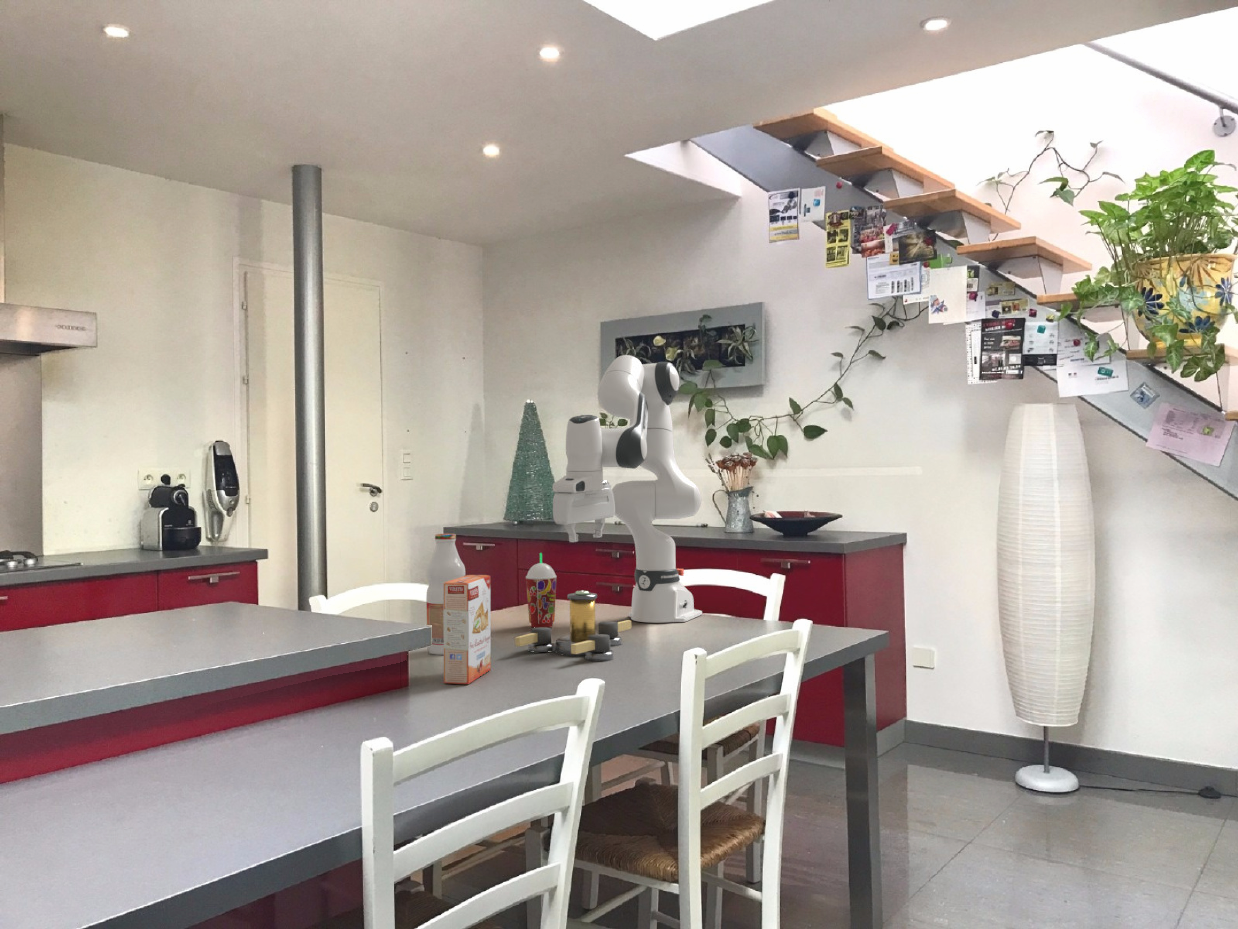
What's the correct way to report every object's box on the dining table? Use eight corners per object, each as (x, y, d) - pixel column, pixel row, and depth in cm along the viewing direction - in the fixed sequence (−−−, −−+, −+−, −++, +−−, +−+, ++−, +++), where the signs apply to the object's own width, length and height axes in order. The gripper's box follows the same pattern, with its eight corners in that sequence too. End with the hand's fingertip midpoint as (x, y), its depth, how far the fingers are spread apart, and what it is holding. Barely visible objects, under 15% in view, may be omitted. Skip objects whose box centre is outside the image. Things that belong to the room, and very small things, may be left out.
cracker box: (470, 685, 200) (469, 582, 200) (442, 684, 201) (440, 582, 201) (493, 670, 213) (491, 574, 213) (466, 669, 215) (465, 573, 214)
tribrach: (578, 637, 251) (577, 580, 251) (655, 646, 237) (655, 587, 237) (522, 651, 234) (521, 590, 234) (602, 662, 220) (601, 598, 220)
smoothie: (556, 629, 263) (554, 554, 263) (524, 629, 263) (523, 554, 263) (558, 623, 272) (557, 551, 271) (528, 624, 272) (527, 551, 272)
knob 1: (539, 639, 238) (539, 626, 238) (555, 641, 235) (555, 628, 235) (509, 647, 229) (509, 634, 229) (525, 649, 226) (525, 635, 226)
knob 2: (597, 647, 228) (597, 633, 228) (614, 649, 225) (613, 635, 225) (565, 655, 219) (565, 641, 219) (581, 657, 216) (581, 643, 216)
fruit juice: (439, 657, 228) (437, 536, 228) (420, 651, 236) (418, 534, 235) (474, 651, 234) (472, 534, 234) (454, 646, 242) (452, 532, 241)
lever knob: (610, 638, 238) (610, 625, 238) (594, 636, 241) (594, 623, 241) (636, 631, 247) (636, 618, 247) (621, 629, 250) (621, 617, 250)
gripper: (600, 479, 248) (601, 534, 249) (547, 485, 232) (549, 543, 232) (620, 480, 245) (621, 535, 245) (568, 485, 228) (570, 545, 229)
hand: (585, 539), depth 239 cm, fingers open, 8 cm apart
